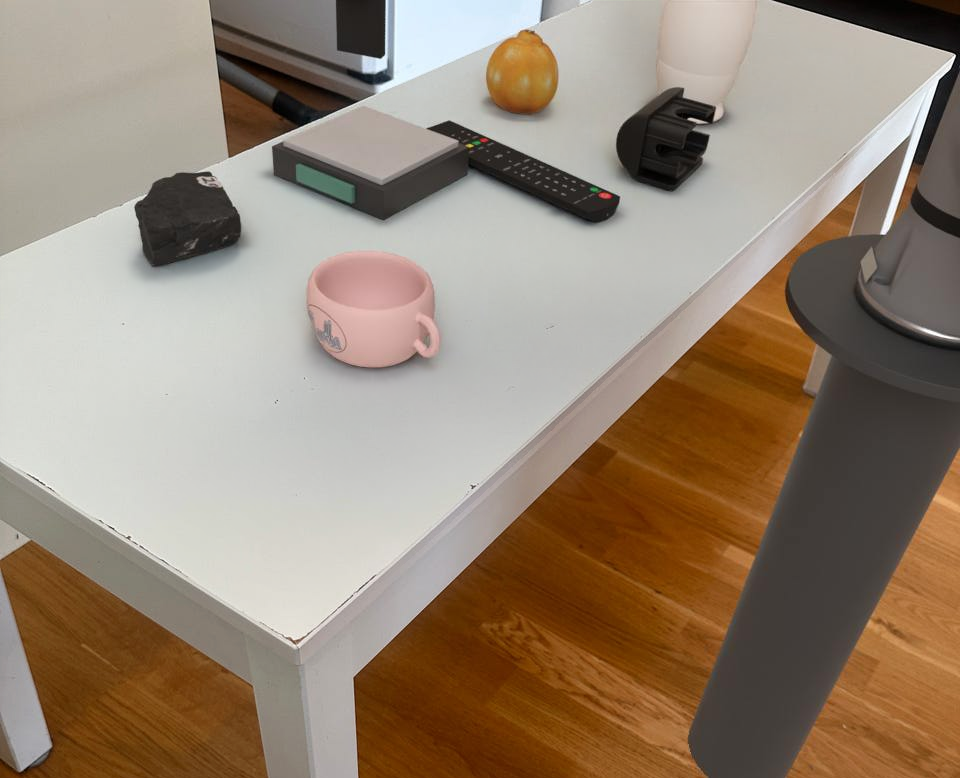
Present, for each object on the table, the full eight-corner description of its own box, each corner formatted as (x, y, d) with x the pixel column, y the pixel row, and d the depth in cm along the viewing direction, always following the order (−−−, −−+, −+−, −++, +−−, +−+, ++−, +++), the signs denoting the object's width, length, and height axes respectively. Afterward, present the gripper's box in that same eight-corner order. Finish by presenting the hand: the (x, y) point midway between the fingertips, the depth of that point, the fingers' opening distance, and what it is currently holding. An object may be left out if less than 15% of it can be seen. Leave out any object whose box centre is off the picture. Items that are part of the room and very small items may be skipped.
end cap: (646, 144, 114) (658, 79, 109) (704, 162, 112) (720, 96, 107) (609, 175, 108) (620, 107, 103) (670, 194, 106) (685, 126, 101)
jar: (692, 136, 116) (726, -13, 105) (626, 105, 121) (651, -41, 110) (748, 117, 122) (786, -27, 111) (682, 88, 126) (712, -53, 115)
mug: (283, 347, 81) (277, 277, 77) (367, 301, 87) (366, 235, 83) (395, 409, 77) (396, 339, 72) (476, 357, 82) (482, 290, 78)
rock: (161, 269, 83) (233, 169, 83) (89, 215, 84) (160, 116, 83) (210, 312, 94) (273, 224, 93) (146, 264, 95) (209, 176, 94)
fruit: (551, 69, 121) (527, 7, 114) (578, 102, 116) (556, 39, 110) (492, 109, 122) (465, 50, 115) (517, 143, 118) (491, 84, 111)
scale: (467, 174, 105) (469, 140, 103) (380, 222, 97) (380, 186, 94) (362, 134, 110) (362, 101, 107) (270, 176, 102) (267, 141, 99)
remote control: (448, 133, 112) (449, 120, 111) (622, 211, 102) (624, 198, 101) (415, 145, 109) (415, 132, 108) (590, 227, 99) (592, 214, 98)
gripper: (416, -487, 57) (406, -43, 72) (217, -509, 40) (260, 72, 56) (546, -471, 56) (507, -25, 71) (397, -487, 39) (389, 98, 55)
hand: (399, 19), depth 64 cm, fingers open, 13 cm apart
